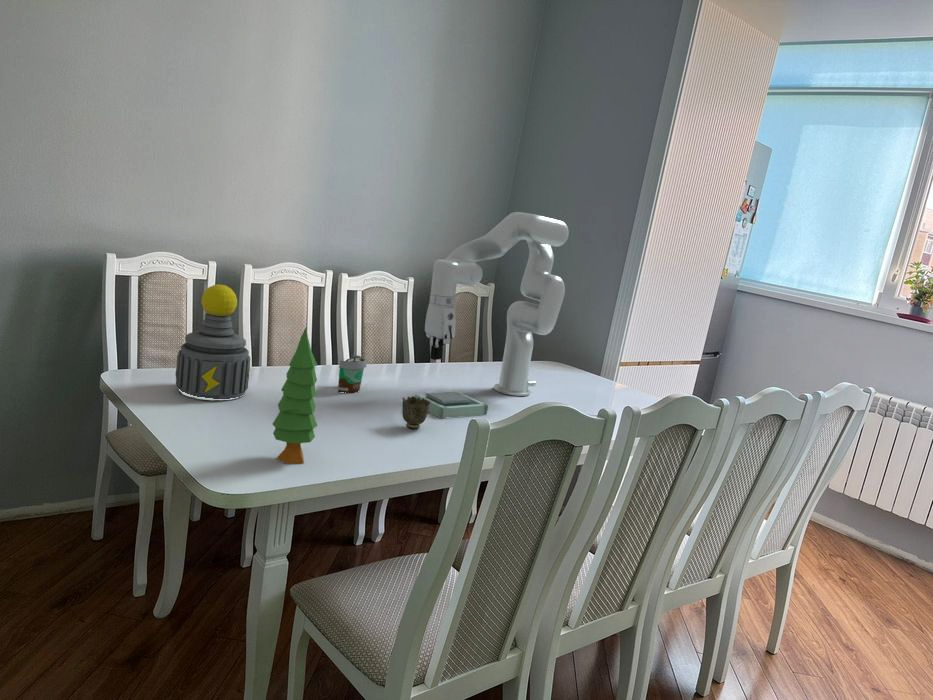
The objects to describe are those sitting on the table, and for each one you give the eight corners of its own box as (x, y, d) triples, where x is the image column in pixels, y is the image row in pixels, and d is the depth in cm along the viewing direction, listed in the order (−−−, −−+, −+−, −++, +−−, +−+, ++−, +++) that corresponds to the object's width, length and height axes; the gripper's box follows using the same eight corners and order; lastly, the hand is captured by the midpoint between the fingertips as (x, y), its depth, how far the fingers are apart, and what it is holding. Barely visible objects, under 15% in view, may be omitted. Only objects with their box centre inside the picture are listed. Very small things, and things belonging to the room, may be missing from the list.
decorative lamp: (247, 386, 214) (257, 284, 208) (246, 404, 196) (256, 293, 190) (178, 380, 208) (187, 276, 203) (170, 399, 191) (179, 285, 185)
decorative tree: (277, 467, 156) (292, 329, 150) (261, 452, 163) (275, 320, 158) (320, 463, 162) (335, 330, 156) (302, 449, 169) (317, 321, 164)
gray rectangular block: (450, 405, 227) (452, 391, 226) (467, 413, 220) (469, 399, 220) (424, 407, 221) (426, 392, 220) (440, 415, 214) (443, 401, 213)
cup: (412, 422, 202) (416, 394, 201) (431, 430, 198) (436, 402, 196) (393, 426, 196) (396, 397, 195) (412, 434, 192) (417, 405, 191)
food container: (355, 397, 219) (359, 364, 217) (335, 393, 220) (339, 360, 218) (368, 388, 231) (372, 357, 229) (350, 385, 232) (354, 354, 230)
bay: (456, 400, 232) (458, 391, 232) (486, 414, 222) (488, 405, 221) (413, 403, 221) (414, 394, 221) (442, 418, 211) (444, 408, 210)
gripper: (467, 305, 221) (460, 364, 225) (437, 296, 232) (431, 352, 236) (447, 305, 216) (440, 365, 220) (418, 296, 227) (411, 353, 231)
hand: (435, 358), depth 228 cm, fingers closed
